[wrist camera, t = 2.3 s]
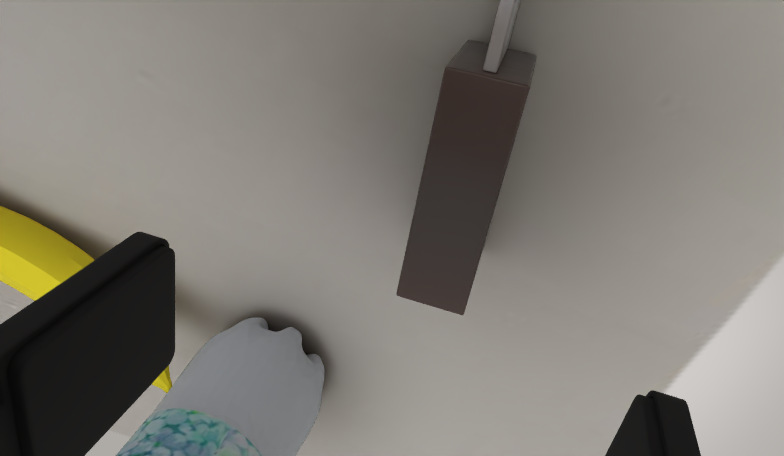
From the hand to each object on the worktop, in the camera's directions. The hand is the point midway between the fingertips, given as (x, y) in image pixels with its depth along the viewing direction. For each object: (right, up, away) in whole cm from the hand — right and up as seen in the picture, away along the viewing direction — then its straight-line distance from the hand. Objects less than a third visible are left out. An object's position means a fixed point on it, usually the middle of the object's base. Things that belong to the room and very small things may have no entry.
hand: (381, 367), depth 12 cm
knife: (+4, +11, +7) cm, 14 cm away
